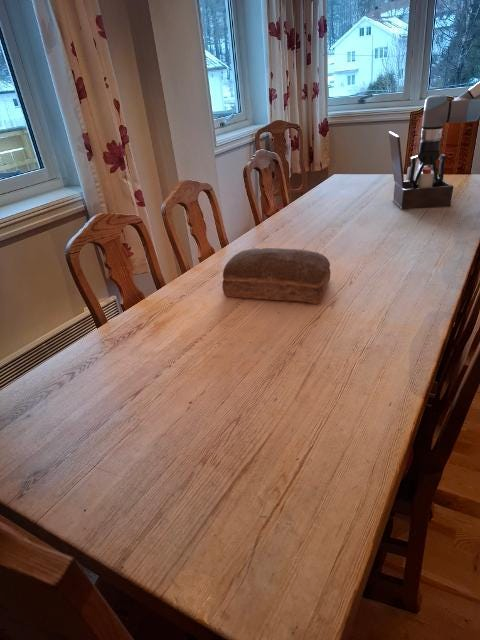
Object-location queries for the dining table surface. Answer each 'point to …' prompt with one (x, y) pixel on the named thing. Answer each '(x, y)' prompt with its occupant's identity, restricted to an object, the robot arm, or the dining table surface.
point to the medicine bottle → (415, 169)
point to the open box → (423, 196)
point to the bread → (277, 275)
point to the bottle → (426, 178)
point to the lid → (396, 159)
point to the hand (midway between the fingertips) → (422, 198)
